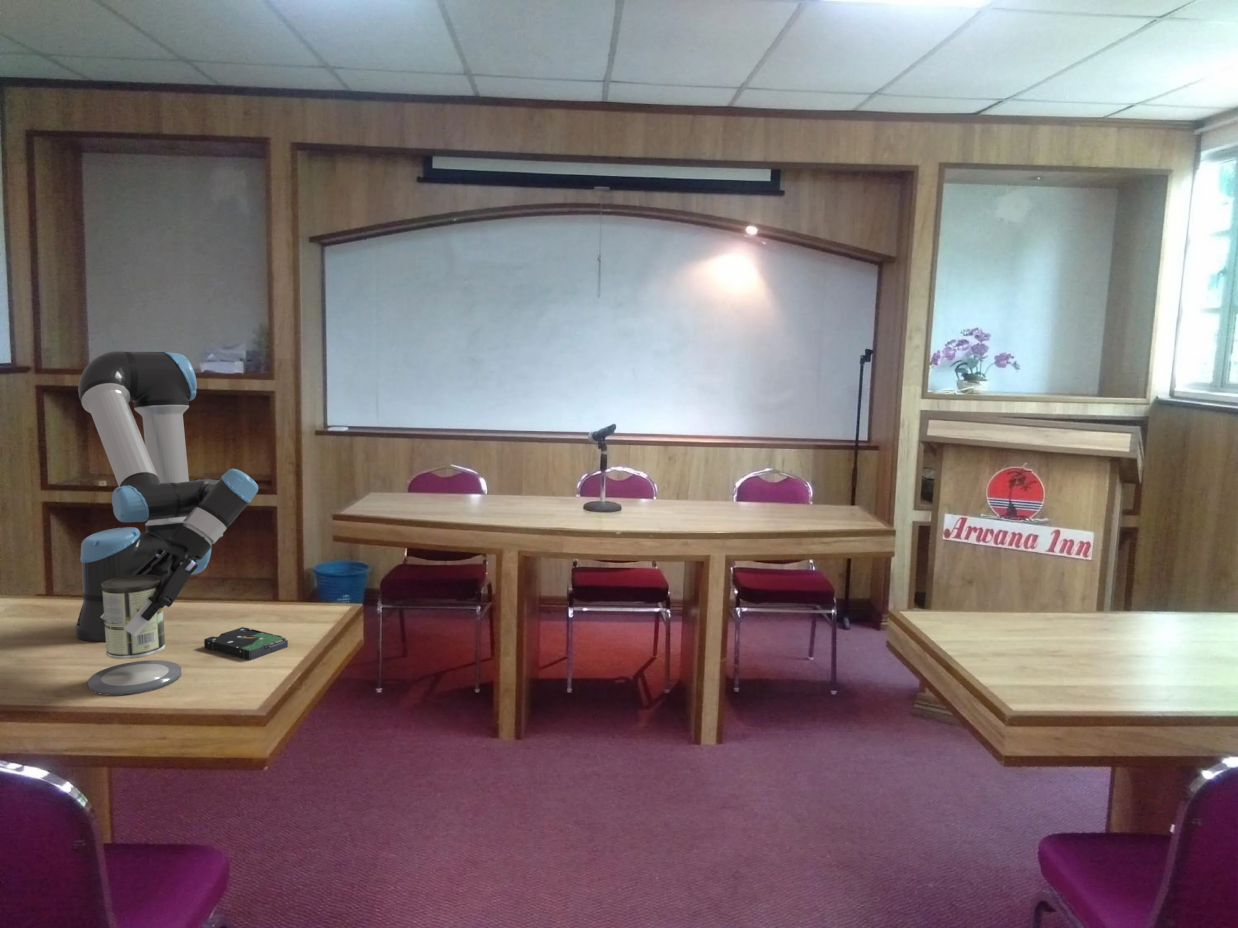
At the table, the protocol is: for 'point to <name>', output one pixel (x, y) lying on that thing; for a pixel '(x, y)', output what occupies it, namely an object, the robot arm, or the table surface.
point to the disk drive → (246, 643)
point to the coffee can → (120, 608)
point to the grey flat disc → (134, 677)
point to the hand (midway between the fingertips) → (117, 626)
